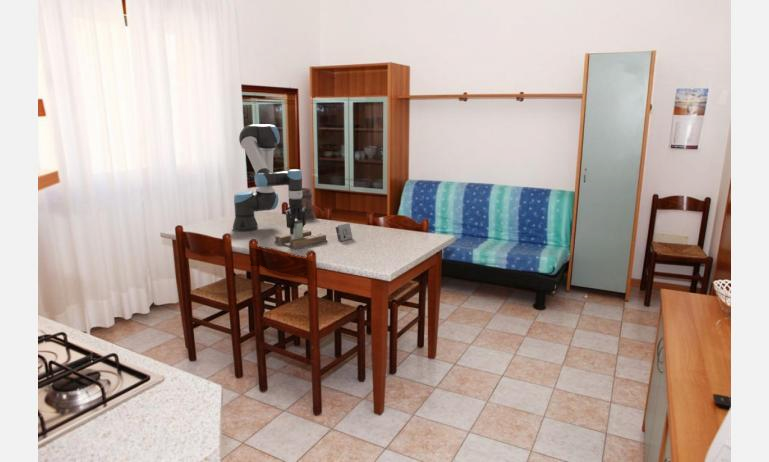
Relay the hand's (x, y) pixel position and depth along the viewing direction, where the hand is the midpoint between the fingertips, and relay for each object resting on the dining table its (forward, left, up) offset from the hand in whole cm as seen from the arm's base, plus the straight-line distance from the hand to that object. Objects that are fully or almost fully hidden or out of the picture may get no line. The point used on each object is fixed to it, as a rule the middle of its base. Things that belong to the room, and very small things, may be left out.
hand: (296, 238), depth 278 cm
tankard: (-53, +45, -3) cm, 69 cm away
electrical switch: (+12, +25, -3) cm, 28 cm away
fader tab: (0, 0, -1) cm, 1 cm away
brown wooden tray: (0, +3, -3) cm, 4 cm away
